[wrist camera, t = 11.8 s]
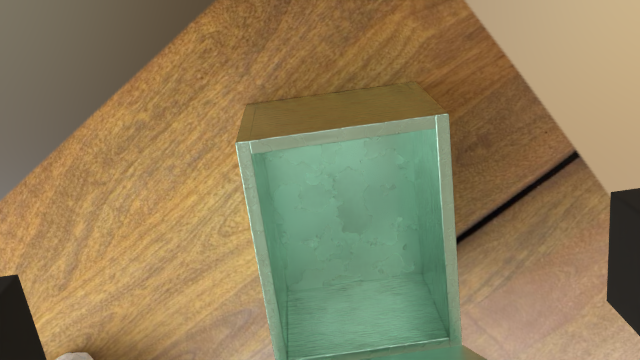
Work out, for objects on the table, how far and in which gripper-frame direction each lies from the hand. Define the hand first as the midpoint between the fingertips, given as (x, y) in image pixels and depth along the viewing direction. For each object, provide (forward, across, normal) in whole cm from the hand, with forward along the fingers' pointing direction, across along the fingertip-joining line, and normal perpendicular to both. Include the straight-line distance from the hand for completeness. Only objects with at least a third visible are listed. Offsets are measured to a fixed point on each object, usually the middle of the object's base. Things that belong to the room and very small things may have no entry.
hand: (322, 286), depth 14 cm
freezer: (+37, +2, -12) cm, 39 cm away
